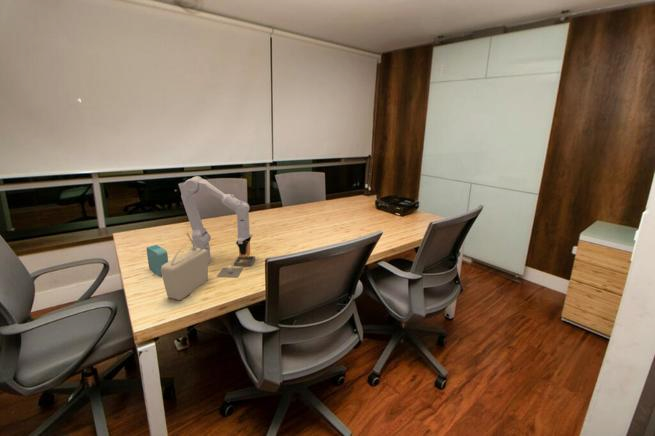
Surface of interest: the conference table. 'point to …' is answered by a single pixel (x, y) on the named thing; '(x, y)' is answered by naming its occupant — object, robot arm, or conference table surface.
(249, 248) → the orange brown block
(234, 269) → the stud plate
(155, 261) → the data package
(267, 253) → the conference table surface
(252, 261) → the tray
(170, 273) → the radio
